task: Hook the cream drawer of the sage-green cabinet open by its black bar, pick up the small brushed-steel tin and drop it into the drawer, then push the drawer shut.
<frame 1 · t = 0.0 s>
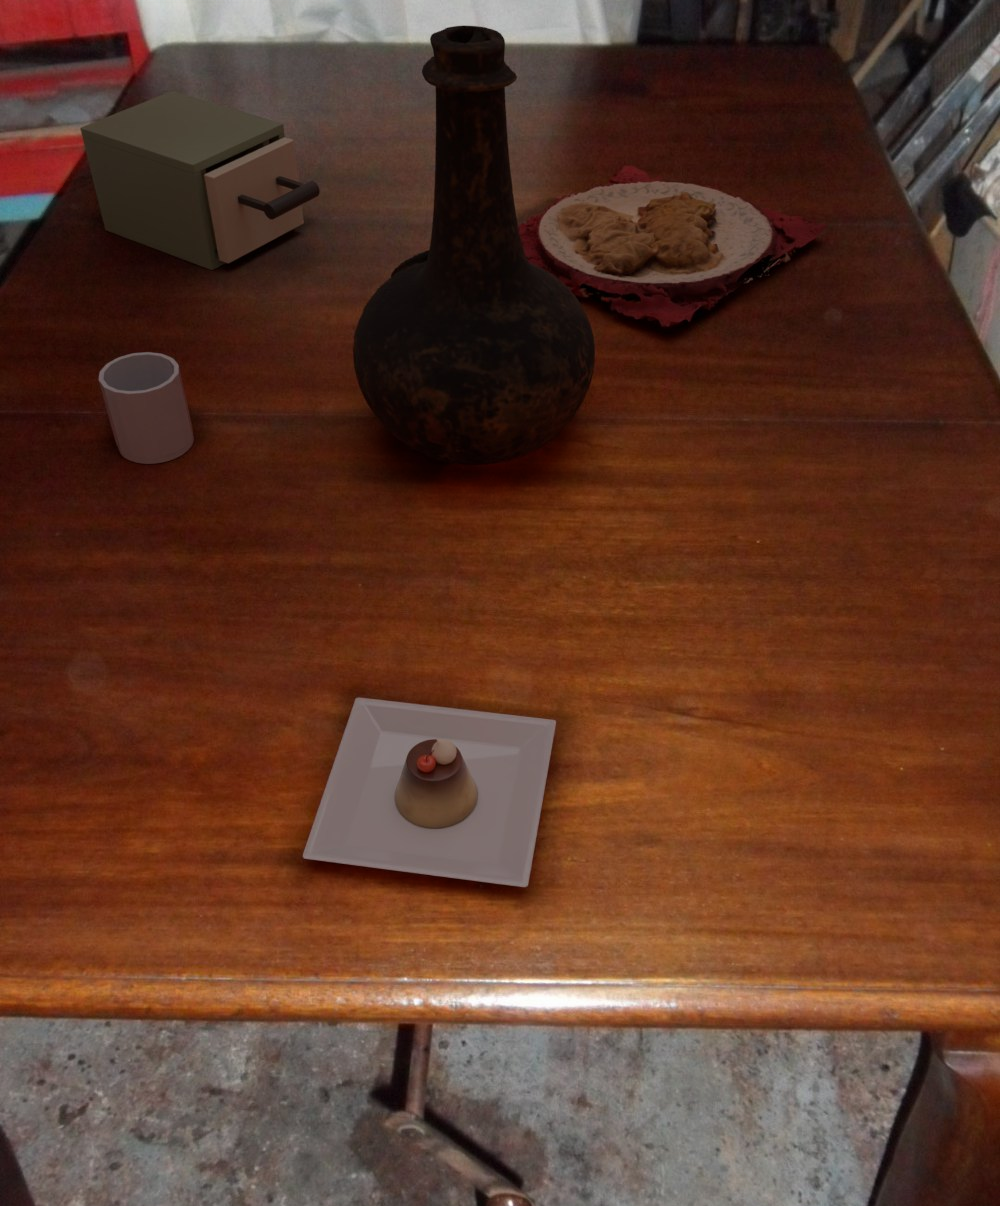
glass bottle: (476, 432, 92), on the table
tin: (156, 442, 91), on the table
dessert: (436, 800, 67), on the table
cabinet: (201, 228, 116), on the table
plate with food: (644, 252, 113), on the table
drawer: (226, 190, 111), point 5 cm above the table, slide at 0.5 cm
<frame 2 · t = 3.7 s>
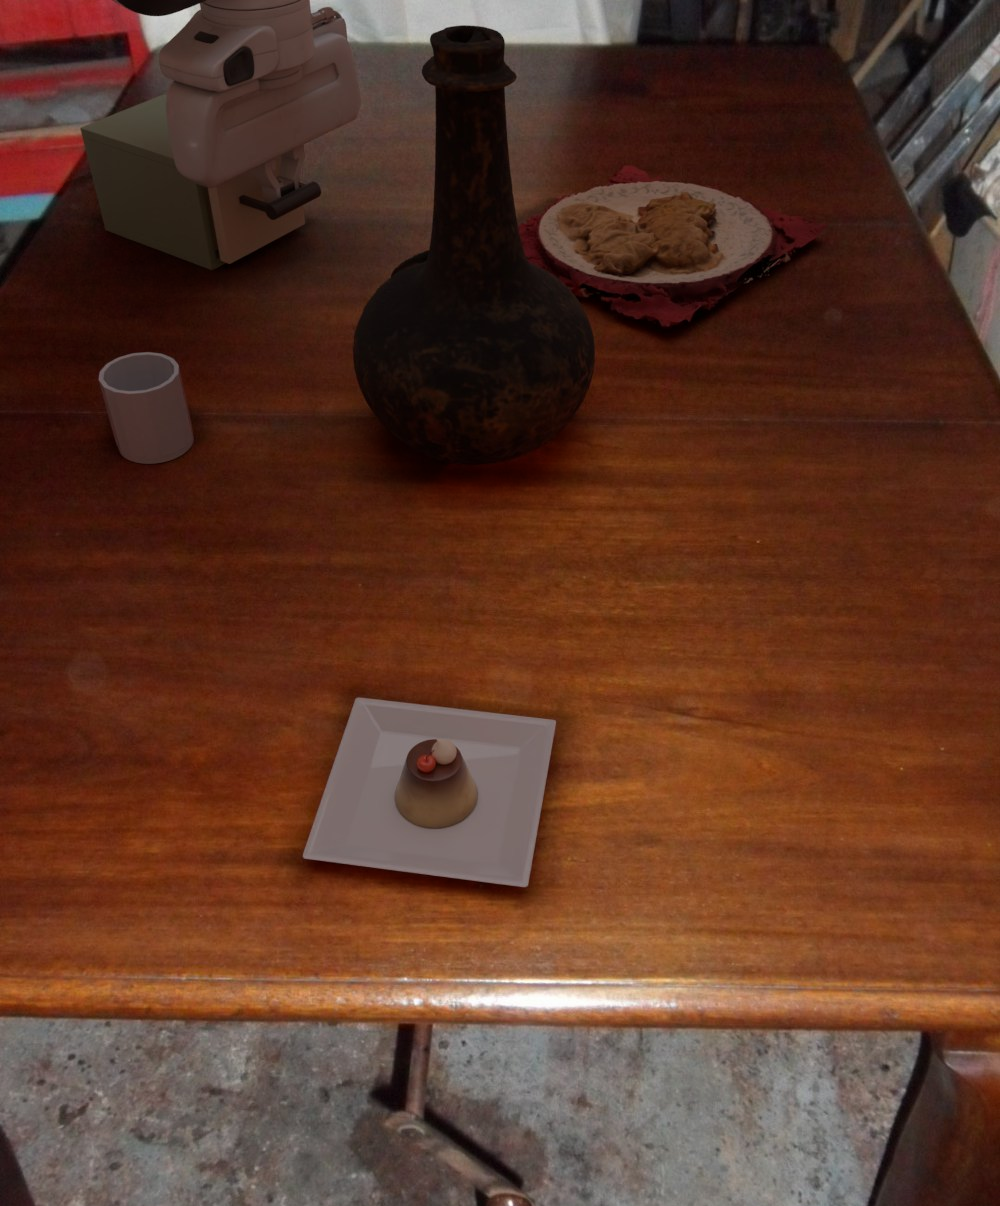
hand: (282, 201, 108), 5 cm above the table, tool pointing down, fingers closed, pressing on drawer
drawer: (228, 190, 111), point 5 cm above the table, slide at 0.7 cm, touching gripper
everything else where it was.
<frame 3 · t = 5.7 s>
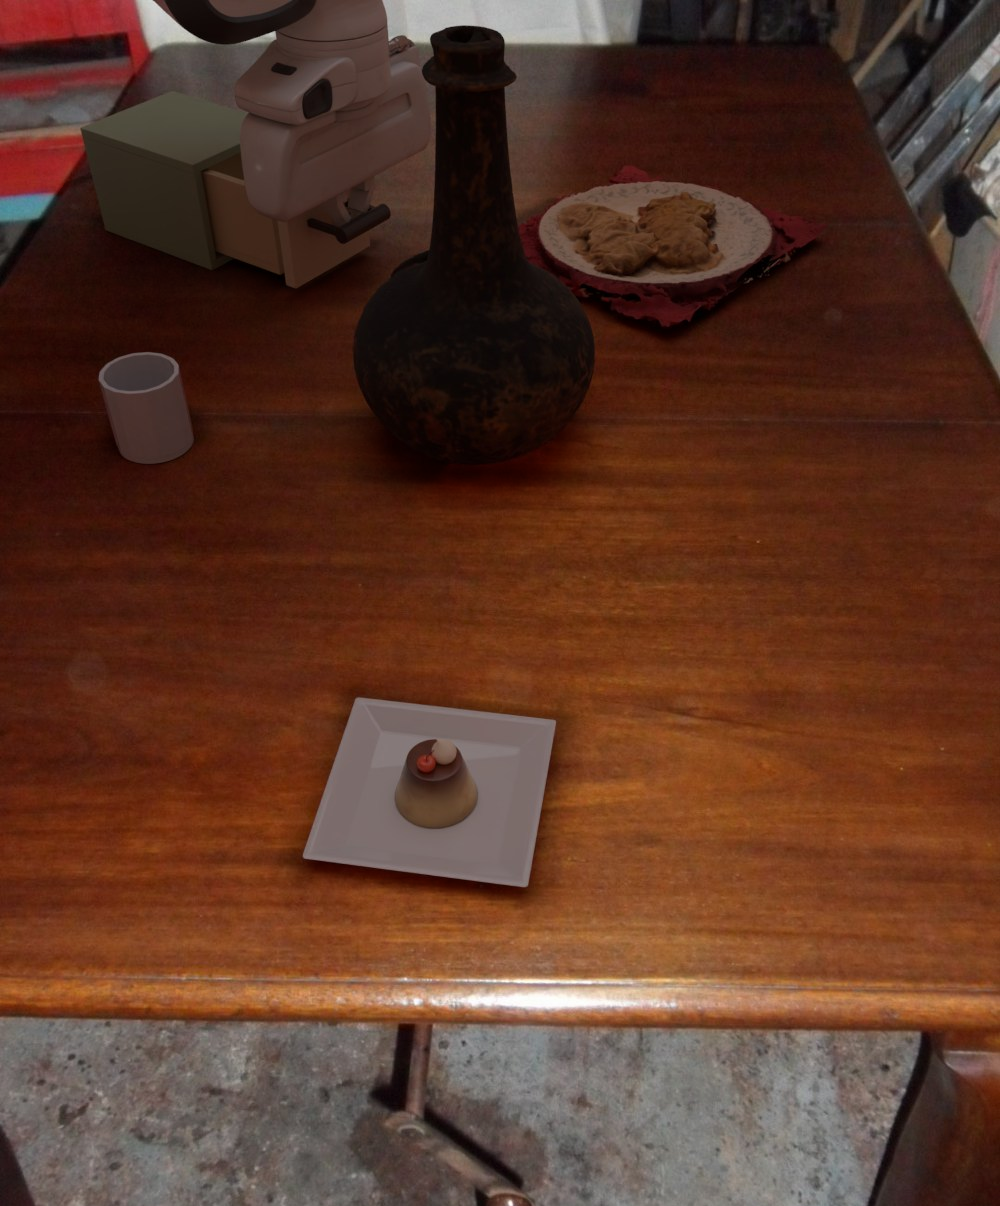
hand: (351, 233, 105), 5 cm above the table, tool pointing down, fingers closed, pressing on drawer
drawer: (293, 212, 108), point 5 cm above the table, slide at 8.8 cm, touching gripper
everything else where it was.
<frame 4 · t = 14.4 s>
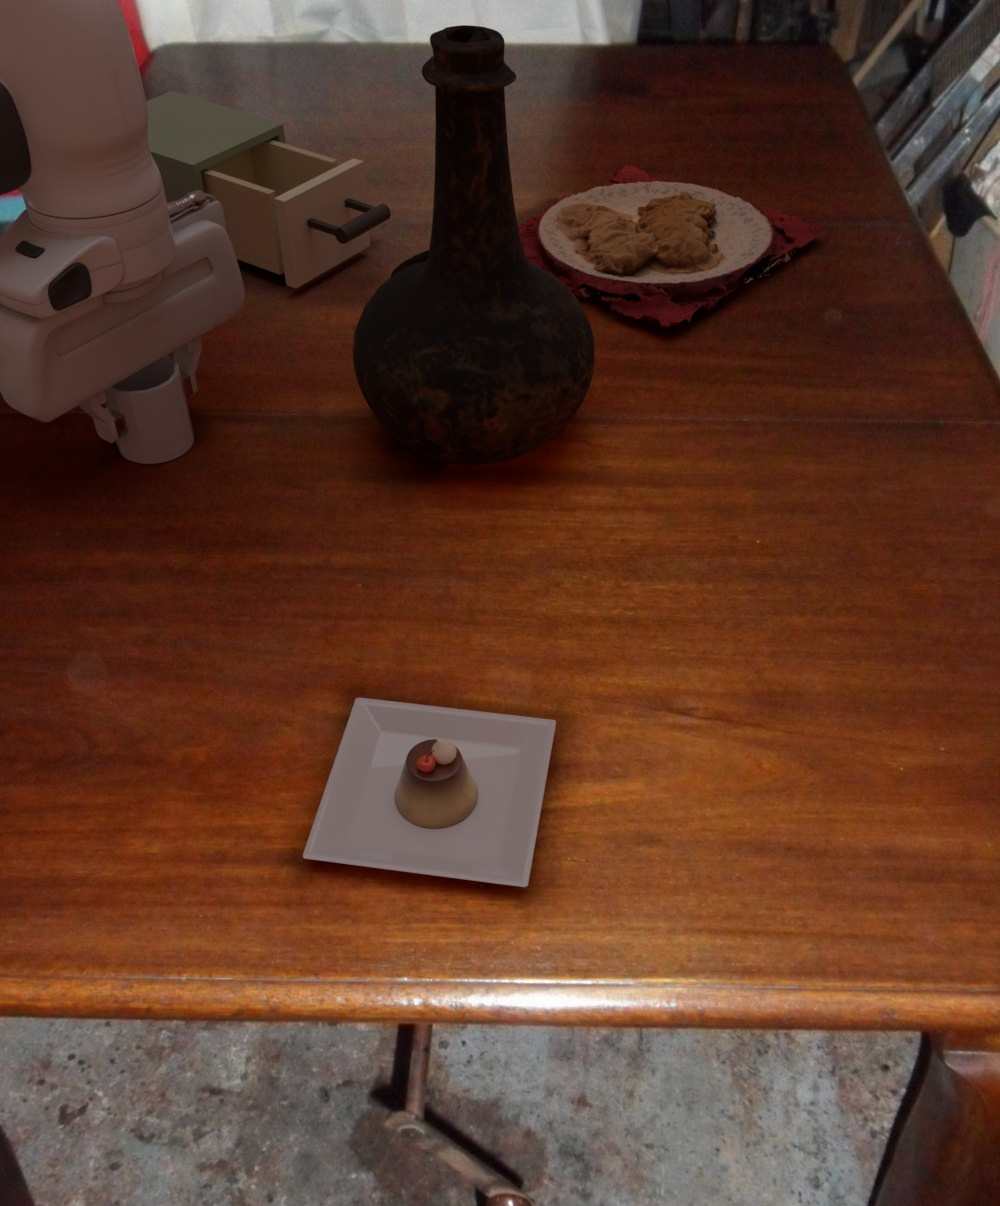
hand: (149, 415, 89), 2 cm above the table, tool pointing down, fingers closed on tin, 6 cm apart
tin: (156, 442, 91), on the table, touching gripper
drawer: (293, 212, 108), point 5 cm above the table, slide at 8.8 cm
everything else where it was.
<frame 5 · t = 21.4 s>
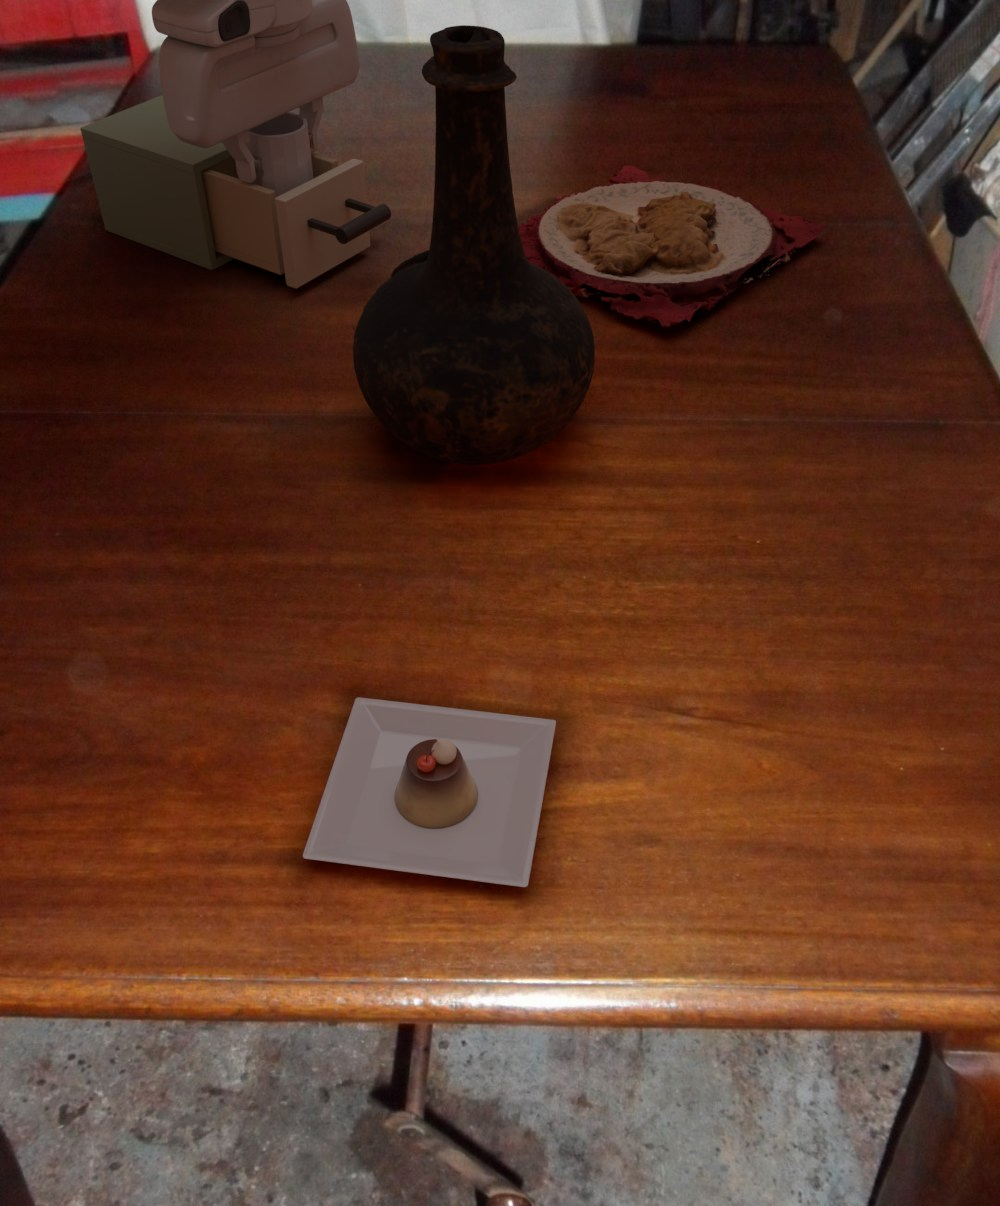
hand: (278, 166, 105), 9 cm above the table, tool pointing down, fingers closed on tin, 6 cm apart
tin: (283, 193, 107), point 6 cm above the table, touching gripper
everything else where it was.
when the fingers open (10 cm above the table, at t = 35.1 s): tin drops 6 cm, resting on drawer.
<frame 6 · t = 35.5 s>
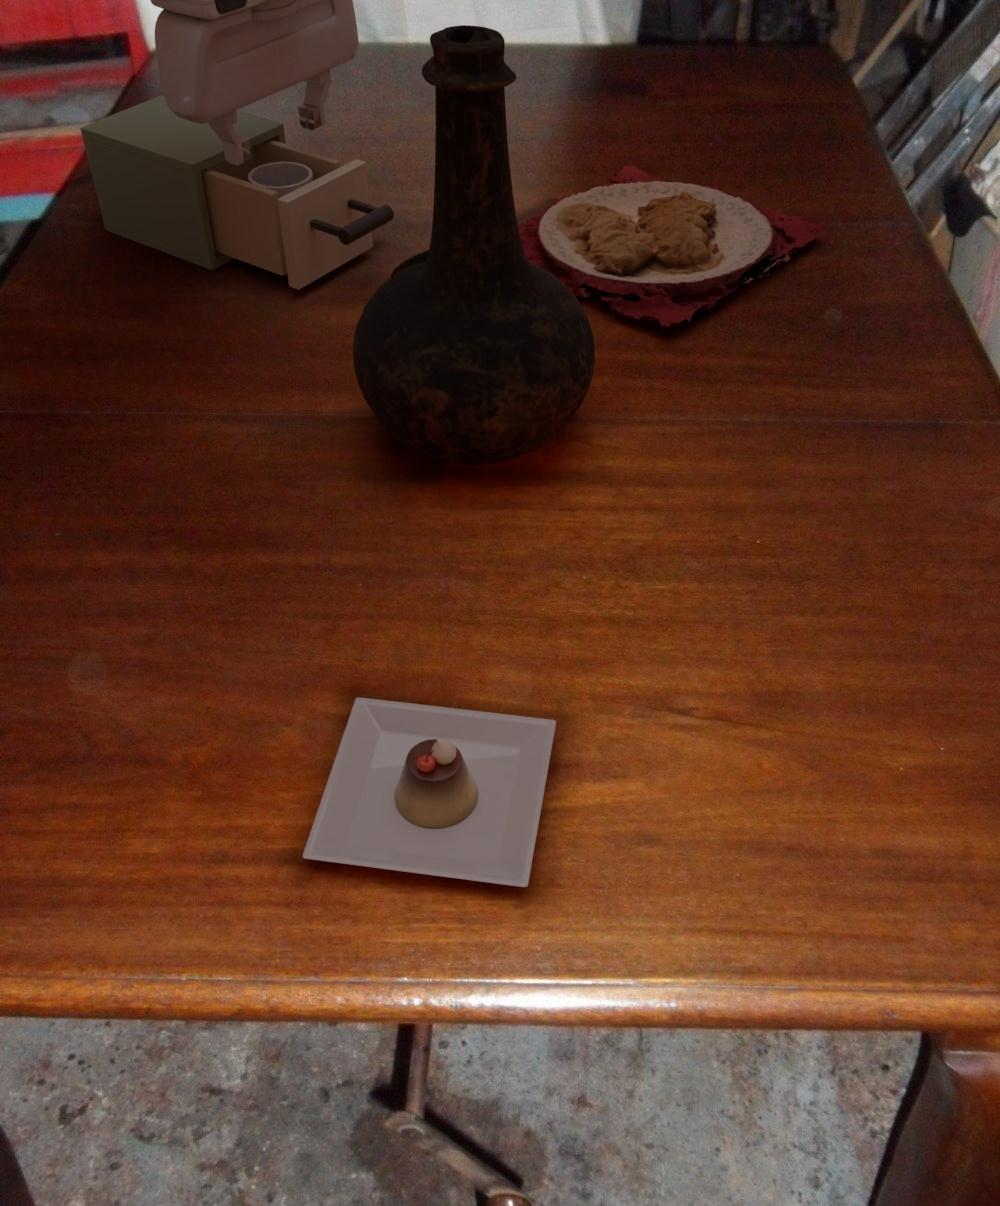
hand: (276, 143, 104), 11 cm above the table, tool pointing down, fingers open, 8 cm apart
tin: (288, 240, 110), point 2 cm above the table, touching drawer
drawer: (295, 213, 108), point 5 cm above the table, slide at 9.2 cm, touching tin
everything else where it was.
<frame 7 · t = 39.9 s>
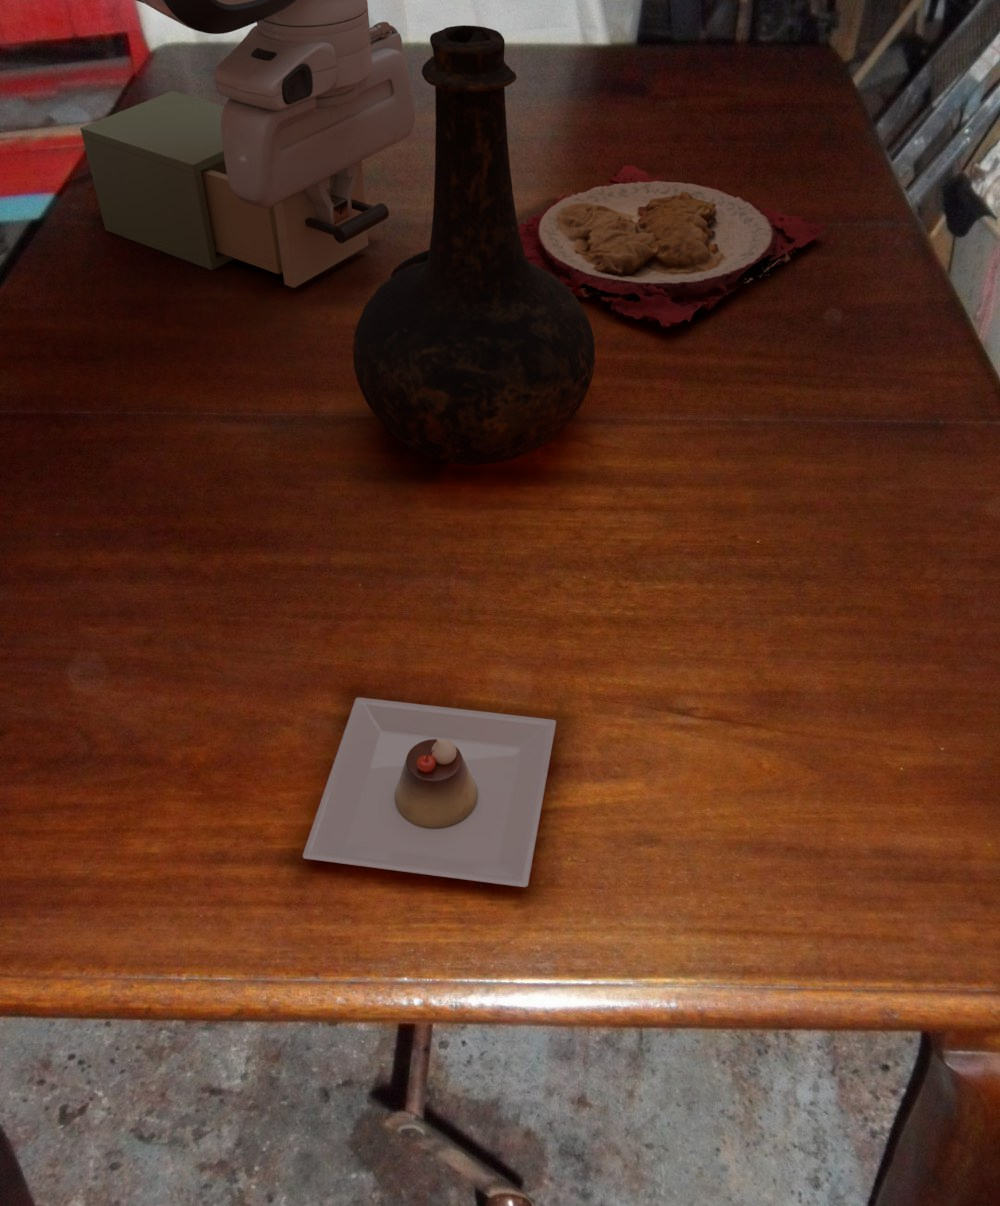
hand: (334, 220, 105), 5 cm above the table, tool pointing down, fingers closed, pressing on drawer
drawer: (291, 212, 108), point 5 cm above the table, slide at 8.6 cm, touching gripper, tin
everything else where it was.
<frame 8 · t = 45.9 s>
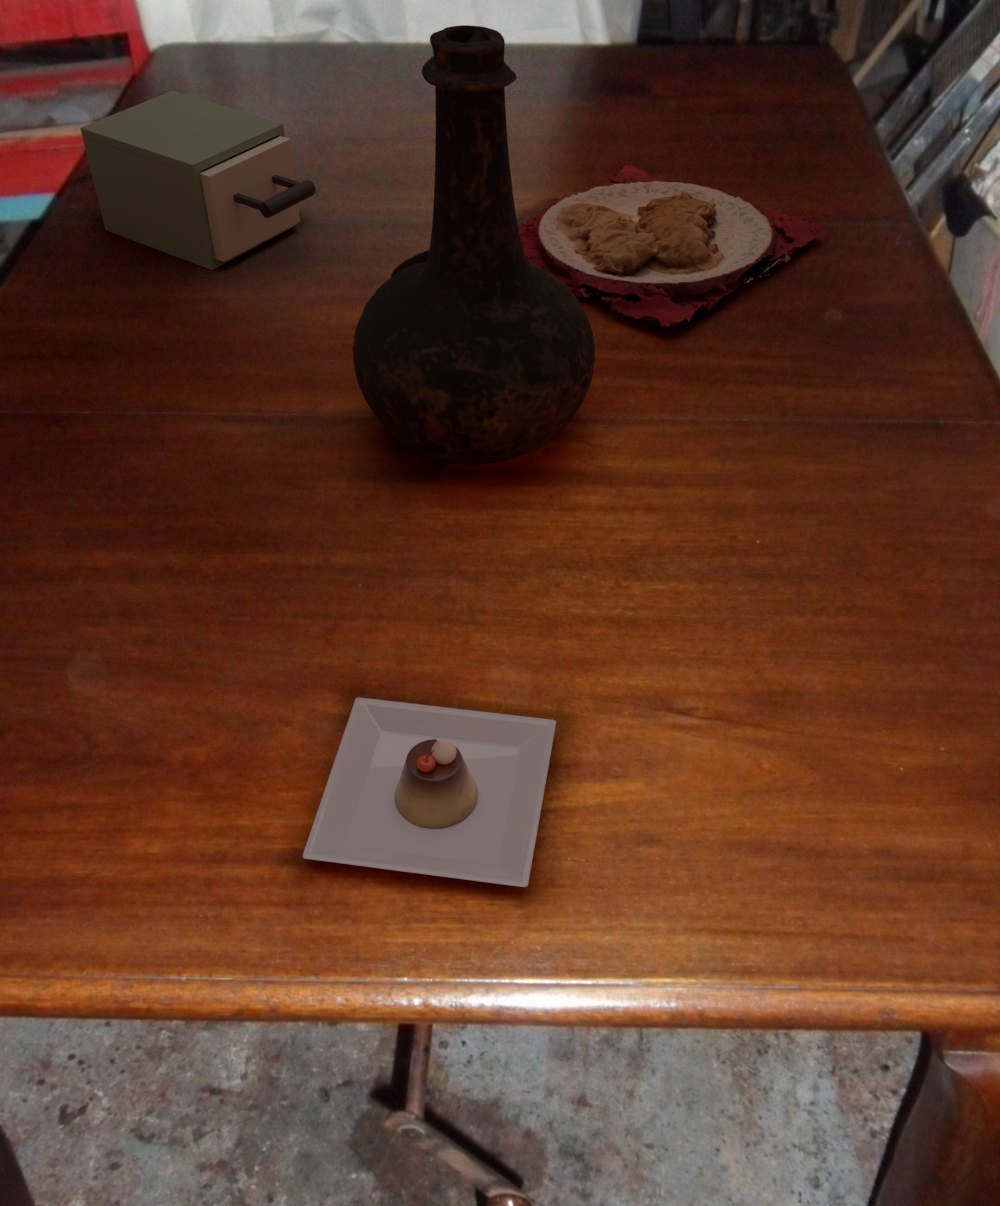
tin: (217, 215, 114), point 2 cm above the table, touching drawer
drawer: (222, 188, 111), point 5 cm above the table, slide at 0.0 cm, touching tin
everything else where it was.
at the end: drawer pulled out 9.2 cm at the most during the clip, back to where it started at the end; tin inside the target area in the cabinet (2.1 cm from its centre), point 2.0 cm above the cabinet's base; drawer slide at 0.0 cm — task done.
